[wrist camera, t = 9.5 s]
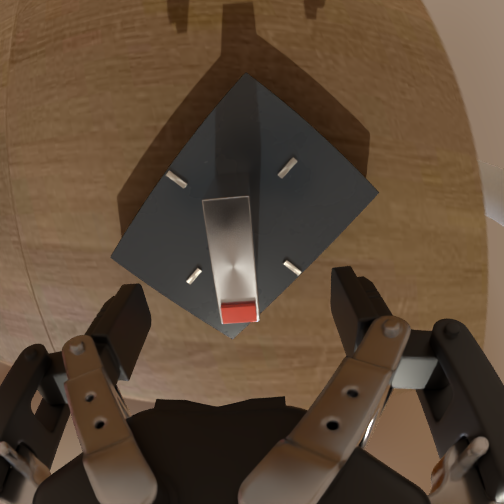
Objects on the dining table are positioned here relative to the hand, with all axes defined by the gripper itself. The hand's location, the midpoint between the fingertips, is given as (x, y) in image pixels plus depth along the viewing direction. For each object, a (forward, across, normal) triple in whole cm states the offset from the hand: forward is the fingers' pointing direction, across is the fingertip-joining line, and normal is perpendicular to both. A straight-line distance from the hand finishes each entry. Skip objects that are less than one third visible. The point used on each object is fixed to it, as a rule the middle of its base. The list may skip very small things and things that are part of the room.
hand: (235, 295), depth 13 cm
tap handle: (+7, 0, 0) cm, 7 cm away
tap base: (+10, 0, 0) cm, 10 cm away
